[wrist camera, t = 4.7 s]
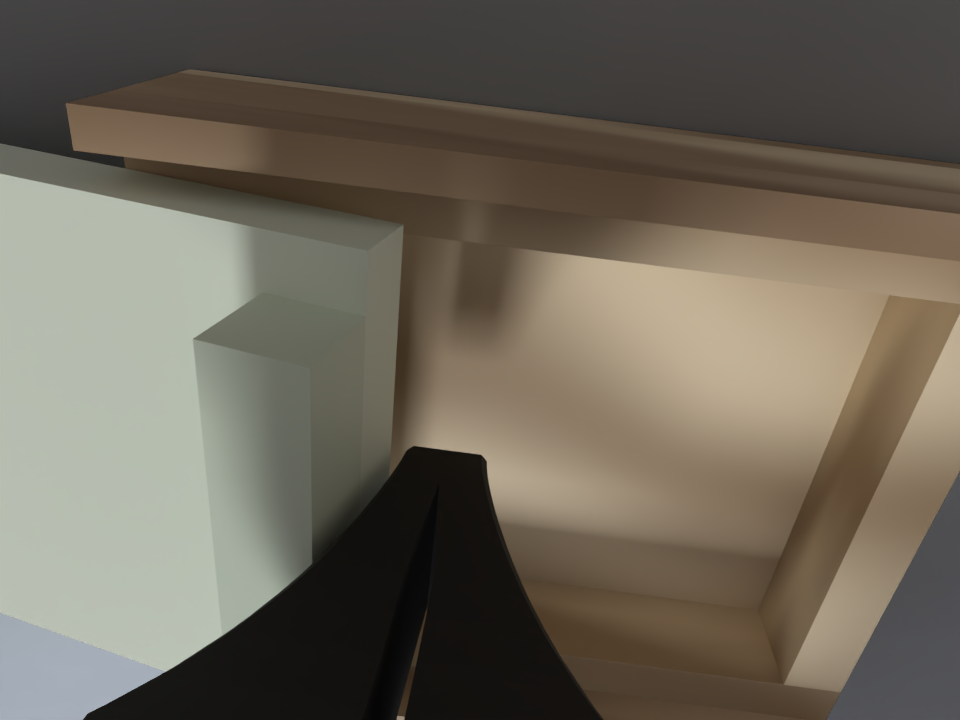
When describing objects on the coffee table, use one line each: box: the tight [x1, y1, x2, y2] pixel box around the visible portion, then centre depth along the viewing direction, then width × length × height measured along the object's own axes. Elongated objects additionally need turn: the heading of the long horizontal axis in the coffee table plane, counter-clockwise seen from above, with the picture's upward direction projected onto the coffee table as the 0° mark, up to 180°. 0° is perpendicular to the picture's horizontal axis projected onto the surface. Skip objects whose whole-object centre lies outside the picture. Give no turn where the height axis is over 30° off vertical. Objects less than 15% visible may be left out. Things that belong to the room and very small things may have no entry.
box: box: [66, 69, 960, 720], centre depth 14 cm, size 12×14×4 cm
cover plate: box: [0, 144, 404, 672], centre depth 12 cm, size 10×11×3 cm
